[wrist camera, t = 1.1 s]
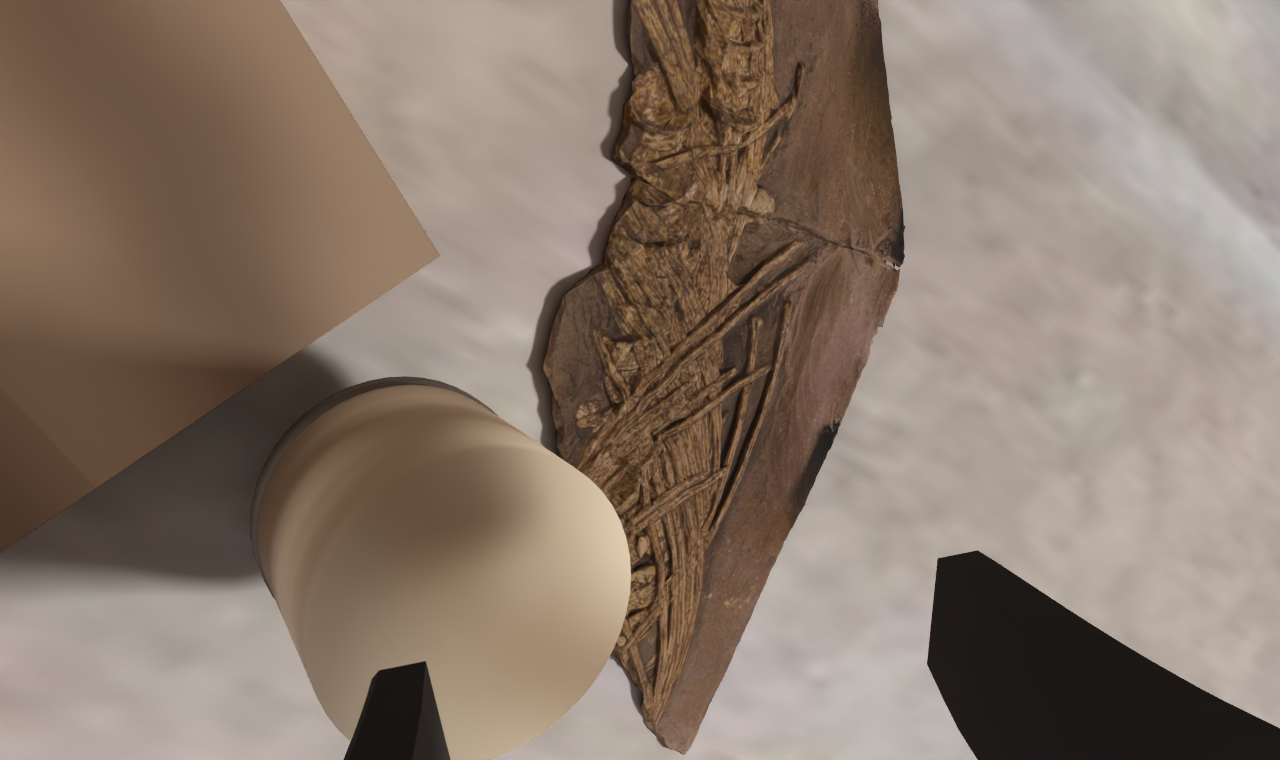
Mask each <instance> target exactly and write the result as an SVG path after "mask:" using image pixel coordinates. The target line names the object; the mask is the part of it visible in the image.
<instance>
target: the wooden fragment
mask: <svg viewBox="0 0 1280 760" xmlns="http://www.w3.org/2000/svg"><path fill="white" fill-rule="evenodd" d="M626 35H628V36H630V39H629V46H630V50H631V56H632V64H633V69H634V78H633V80H632V82H631V84H632V94H631V95H630V97H629V98H628V100H627V101H626V103H625V104H624V118H623V126H622V131H621V132H620V134H619V137H618V140H617V142H616V145H615V148H614V151H613V156H612V160H614V161H615V162H616V163H618V164H619V165H620V166H622V167H623V168H624V169H626V170H627V171H628V172H629V173H630V174H631V175H632V180H631V184H630V186H629V188H628V190H627V192H626V194H625V196H624V199H623V204H622V209H621V210H619V211H618V213H617V215H616V218H615V220H614V223H613V225H612V228H611V231H610V235H609V241H608V246H607V248H606V250H605V251H604V253H603V257H604V262H603V264H601V265H599V266H598V267H596V268H594V269H592V270H591V271H590V272H589V273H588V274H587V275H586V276H585V277H584V278H582V279H581V280H580V281H578V282H577V284H576V287H574V288H572V289H571V290H570V291H568V292H567V293H566V294H565V295H564V296H563V301H562V304H561V306H560V308H559V310H558V312H557V315H556V318H555V321H554V324H553V327H552V330H551V334H550V339H549V345H548V351H547V355H546V357H545V360H544V374H545V375H546V376H547V377H548V380H549V383H550V386H551V388H552V391H553V395H552V417H553V420H554V424H555V427H556V434H557V448H558V455H559V457H560V458H561V459H563V460H564V461H566V462H567V463H569V464H570V465H571V466H573V467H574V468H576V469H577V470H579V471H580V472H581V473H583V474H584V475H585V476H587V477H588V478H589V479H590V480H591V481H592V482H593V483H594V484H595V485H596V486H597V487H598V488H599V489H600V490H601V491H602V492H603V493H604V495H605V496H606V497H607V499H608V500H609V501H610V503H611V504H612V506H613V508H614V509H615V511H616V513H617V515H618V517H619V519H620V521H621V524H622V527H623V530H624V533H625V535H626V538H627V544H628V549H629V554H630V565H631V584H630V596H629V601H628V607H627V612H626V616H625V619H624V622H623V626H622V629H621V632H620V635H619V637H618V639H617V642H616V644H615V646H614V649H613V651H614V652H615V653H616V656H617V657H618V658H619V659H620V661H621V662H622V664H623V666H624V668H626V669H627V671H628V672H629V674H630V676H631V678H632V681H633V683H634V684H635V686H638V687H639V689H640V690H641V692H642V693H643V698H644V700H643V704H642V705H641V709H642V712H643V715H644V719H645V723H646V725H647V727H648V728H649V729H651V730H652V731H653V733H654V734H655V735H656V736H657V737H658V739H659V740H660V741H661V742H662V743H663V744H664V745H665V746H666V747H667V748H669V749H670V750H676V751H678V752H680V753H681V754H683V755H685V754H686V752H687V751H688V750H689V748H690V747H691V745H692V743H693V741H694V739H695V737H696V735H697V733H698V730H699V726H700V724H701V722H702V720H703V718H704V716H705V714H706V712H707V709H708V707H709V704H710V702H711V700H712V698H713V696H714V694H715V692H716V690H717V688H718V686H719V684H720V683H721V681H722V679H723V676H724V674H725V672H726V670H727V668H728V666H729V664H730V662H731V659H732V657H733V654H734V651H735V649H736V647H737V645H738V643H739V642H740V640H741V637H742V635H743V632H744V630H745V628H746V626H747V624H748V622H749V620H750V618H751V615H752V613H753V610H754V607H755V605H756V603H757V600H758V598H759V596H760V594H761V592H762V590H763V588H764V586H765V583H766V581H767V578H768V576H769V573H770V571H771V569H772V567H773V565H774V564H775V562H776V559H777V557H778V555H779V553H780V551H781V549H782V547H783V543H784V541H785V539H786V538H787V536H788V534H789V532H790V530H791V528H792V527H793V525H794V523H795V521H796V519H797V517H798V515H799V513H800V512H801V510H802V508H803V507H804V505H805V502H806V499H807V497H808V495H809V492H810V490H811V488H812V487H813V484H814V482H815V479H816V476H817V474H818V472H819V470H820V468H821V466H822V464H823V462H824V460H825V458H826V455H827V453H828V451H829V450H830V448H831V446H832V444H833V441H834V438H835V436H836V434H837V432H838V428H839V426H840V424H841V422H842V419H843V417H844V414H845V412H846V409H847V407H848V405H849V403H850V400H851V397H852V394H853V392H854V390H855V387H856V384H857V381H858V379H859V378H860V375H861V372H862V370H863V368H864V367H865V365H866V363H867V360H868V357H869V354H870V346H871V344H872V343H873V341H872V338H873V337H874V336H875V335H876V334H877V330H878V326H879V327H883V323H884V319H885V316H886V314H887V311H888V309H889V306H890V304H891V301H892V298H893V297H894V295H895V293H896V291H897V288H898V281H899V272H900V270H898V271H897V270H896V269H895V268H892V267H891V266H889V265H886V263H885V262H884V261H885V260H888V261H890V262H891V263H893V266H894V267H895V263H896V266H898V267H900V266H901V265H902V264H903V260H904V257H905V255H904V235H903V233H904V229H905V226H904V224H903V207H902V198H901V191H900V185H899V178H898V167H897V157H896V149H895V142H894V134H893V128H892V124H891V119H892V117H891V111H890V105H889V94H888V86H887V76H886V68H885V62H884V54H883V45H882V32H881V21H880V18H879V14H878V0H630V3H629V10H628V16H627V32H626Z"/></svg>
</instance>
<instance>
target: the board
mask: <svg viewBox="0 0 1280 760" xmlns="http://www.w3.org/2000/svg"><path fill="white" fill-rule="evenodd" d="M439 256H440V255H439V253H438V251H437V250H436V248H435V247H434V245H433V243H432V242H431V240H430V239H429V237H428V235H427V234H426V232H425V231H424V229H423V227H422V226H421V224H420V223H419V221H418V219H417V218H416V216H415V215H414V213H413V211H412V210H411V208H410V207H409V205H408V203H407V202H406V200H405V199H404V197H403V195H402V194H401V192H400V191H399V189H398V188H397V186H396V184H395V183H394V181H393V180H392V178H391V176H390V175H389V173H388V172H387V170H386V168H385V167H384V165H383V164H382V162H381V160H380V159H379V157H378V156H377V154H376V152H375V151H374V149H373V148H372V146H371V144H370V143H369V141H368V140H367V138H366V136H365V135H364V133H363V132H362V130H361V128H360V127H359V125H358V124H357V122H356V120H355V119H354V117H353V116H352V114H351V113H350V111H349V109H348V108H347V106H346V105H345V103H344V101H343V100H342V98H341V97H340V95H339V93H338V92H337V90H336V89H335V87H334V85H333V84H332V82H331V81H330V79H329V77H328V76H327V74H326V73H325V71H324V69H323V68H322V66H321V65H320V63H319V61H318V60H317V58H316V57H315V55H314V53H313V52H312V50H311V49H310V47H309V45H308V44H307V42H306V41H305V39H304V38H303V36H302V34H301V33H300V31H299V30H298V28H297V26H296V25H295V23H294V22H293V20H292V18H291V17H290V15H289V14H288V12H287V10H286V9H285V7H284V6H283V4H282V2H281V1H280V0H0V552H2V551H3V550H5V549H6V548H8V547H9V546H11V545H12V544H14V543H15V542H17V541H18V540H20V539H21V538H23V537H24V536H26V535H27V534H29V533H30V532H32V531H33V530H35V529H36V528H38V527H39V526H40V525H42V524H43V523H45V522H46V521H48V520H49V519H51V518H52V517H54V516H55V515H57V514H58V513H60V512H61V511H63V510H64V509H66V508H67V507H69V506H70V505H72V504H73V503H75V502H76V501H78V500H79V499H81V498H82V497H83V496H85V495H86V494H88V493H89V492H91V491H92V490H94V489H95V488H97V487H98V486H100V485H101V484H103V483H104V482H106V481H107V480H109V479H110V478H112V477H113V476H115V475H116V474H118V473H119V472H121V471H122V470H124V469H125V468H126V467H128V466H129V465H131V464H132V463H134V462H135V461H137V460H138V459H140V458H141V457H143V456H144V455H146V454H147V453H149V452H150V451H152V450H153V449H155V448H156V447H158V446H159V445H161V444H162V443H164V442H165V441H167V440H168V439H169V438H171V437H172V436H174V435H175V434H177V433H178V432H180V431H181V430H183V429H184V428H186V427H187V426H189V425H190V424H192V423H193V422H195V421H196V420H198V419H199V418H201V417H202V416H204V415H205V414H207V413H208V412H209V411H211V410H212V409H214V408H215V407H217V406H218V405H220V404H221V403H223V402H224V401H226V400H227V399H229V398H230V397H232V396H233V395H235V394H236V393H238V392H239V391H241V390H242V389H244V388H245V387H247V386H248V385H250V384H251V383H252V382H254V381H255V380H257V379H258V378H260V377H261V376H263V375H264V374H266V373H267V372H269V371H270V370H272V369H273V368H275V367H276V366H278V365H279V364H281V363H282V362H284V361H285V360H287V359H288V358H290V357H291V356H293V355H294V354H295V353H297V352H298V351H300V350H301V349H303V348H304V347H306V346H307V345H309V344H310V343H312V342H313V341H315V340H316V339H318V338H319V337H321V336H322V335H324V334H325V333H327V332H328V331H330V330H331V329H333V328H334V327H335V326H337V325H338V324H340V323H341V322H343V321H344V320H346V319H347V318H349V317H350V316H352V315H353V314H355V313H356V312H358V311H359V310H361V309H362V308H364V307H365V306H367V305H368V304H370V303H371V302H373V301H374V300H376V299H377V298H378V297H380V296H381V295H383V294H384V293H386V292H387V291H389V290H390V289H392V288H393V287H395V286H396V285H398V284H399V283H401V282H402V281H404V280H405V279H407V278H408V277H410V276H411V275H413V274H414V273H416V272H417V271H419V270H420V269H421V268H423V267H424V266H426V265H427V264H429V263H430V262H432V261H433V260H435V259H436V258H438V257H439Z"/></svg>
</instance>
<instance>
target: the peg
mask: <svg viewBox="0 0 1280 760" xmlns="http://www.w3.org/2000/svg"><path fill="white" fill-rule="evenodd" d="M250 526H251V540H252V546H253V551H254V555H255V558H256V561H257V564H258V567H259V570H260V572H261V575H262V577H263V579H264V581H265V583H266V585H267V587H268V589H269V591H270V592H271V594H272V596H273V597H274V599H275V600H276V602H277V605H278V607H279V609H280V612H281V614H282V616H283V619H284V621H285V623H286V626H287V628H288V630H289V633H290V635H291V637H292V640H293V642H294V644H295V647H296V649H297V651H298V654H299V656H300V658H301V661H302V663H303V665H304V668H305V670H306V672H307V675H308V677H309V679H310V682H311V684H312V687H313V689H314V691H315V694H316V696H317V698H318V700H319V702H320V704H321V705H322V707H323V709H324V711H325V713H326V715H327V716H328V717H329V718H330V720H331V721H332V722H333V724H334V725H335V726H336V727H337V729H338V730H339V731H340V732H341V733H342V734H343V735H345V736H346V737H347V738H348V739H349V740H350V741H351V740H352V737H353V734H354V732H355V729H356V726H357V724H358V721H359V718H360V715H361V712H362V709H363V706H364V703H365V700H366V697H367V694H368V690H369V687H370V683H371V680H372V678H373V677H374V676H375V674H376V673H377V672H378V671H379V670H383V669H388V668H393V667H398V666H403V665H408V664H413V663H418V662H423V661H426V664H427V668H428V672H429V676H430V680H431V684H432V688H433V692H434V696H435V700H436V704H437V708H438V712H439V716H440V720H441V724H442V728H443V732H444V736H445V740H446V744H447V748H448V752H449V756H450V760H490V759H492V758H495V757H497V756H500V755H502V754H505V753H507V752H510V751H512V750H513V749H515V748H517V747H519V746H521V745H523V744H525V743H527V742H529V741H530V740H532V739H533V738H535V737H536V736H538V735H539V734H541V733H542V732H544V731H545V730H547V729H548V728H549V727H550V726H552V725H553V724H554V723H555V722H557V721H558V720H559V719H560V718H561V717H563V716H564V715H565V714H566V713H567V712H568V711H569V710H570V709H571V708H572V707H573V706H574V705H575V704H576V703H577V702H578V701H579V700H580V698H581V697H582V696H583V695H584V694H585V692H586V691H587V690H588V689H589V688H590V686H591V685H592V684H593V682H594V681H595V679H596V678H597V676H598V675H599V673H600V672H601V671H602V669H603V667H604V666H605V664H606V662H607V660H608V658H609V656H610V655H611V653H612V651H613V649H614V646H615V644H616V642H617V639H618V637H619V635H620V632H621V629H622V626H623V622H624V619H625V616H626V612H627V607H628V601H629V596H630V584H631V565H630V554H629V549H628V544H627V538H626V535H625V533H624V530H623V527H622V524H621V521H620V519H619V517H618V515H617V513H616V511H615V509H614V508H613V506H612V504H611V503H610V501H609V500H608V499H607V497H606V496H605V495H604V493H603V492H602V491H601V490H600V489H599V488H598V487H597V486H596V485H595V484H594V483H593V482H592V481H591V480H590V479H589V478H588V477H587V476H585V475H584V474H583V473H581V472H580V471H579V470H577V469H576V468H574V467H573V466H571V465H570V464H569V463H567V462H566V461H564V460H563V459H561V458H560V457H558V456H557V455H555V454H554V453H552V452H551V451H549V450H548V449H546V448H545V447H543V446H542V445H540V444H539V443H537V442H536V441H534V440H533V439H531V438H530V437H528V436H527V435H525V434H524V433H522V432H521V431H519V430H518V429H516V428H515V427H513V426H512V425H510V424H509V423H507V422H506V421H504V420H503V419H501V418H500V417H499V416H498V415H497V414H496V413H494V412H493V411H492V410H491V409H490V408H489V407H487V406H486V405H484V404H483V403H482V402H480V401H479V400H477V399H476V398H474V397H473V396H471V395H470V394H468V393H466V392H464V391H462V390H460V389H458V388H457V387H454V386H451V385H448V384H446V383H443V382H440V381H435V380H431V379H426V378H418V377H389V378H382V379H377V380H371V381H367V382H364V383H361V384H358V385H355V386H351V387H349V388H347V389H345V390H342V391H340V392H338V393H336V394H334V395H332V396H330V397H328V398H327V399H325V400H324V401H322V402H320V403H319V404H317V405H316V406H314V407H313V408H312V409H311V410H309V411H308V412H307V413H305V414H304V415H303V416H302V417H300V418H299V419H298V420H297V421H296V423H295V424H294V425H293V426H292V427H291V428H290V429H289V430H288V431H287V432H286V433H285V434H284V436H283V437H282V438H281V439H280V441H279V442H278V443H277V445H276V446H275V447H274V449H273V451H272V452H271V454H270V456H269V458H268V459H267V461H266V463H265V465H264V467H263V469H262V472H261V474H260V477H259V479H258V481H257V485H256V489H255V492H254V496H253V500H252V508H251V517H250Z"/></svg>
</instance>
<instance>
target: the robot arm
mask: <svg viewBox="0 0 1280 760" xmlns="http://www.w3.org/2000/svg"><path fill="white" fill-rule="evenodd" d="M927 665H928V667H929V669H930V671H931V673H932V675H933V678H934V680H935V682H936V684H937V686H938V688H939V690H940V693H941V695H942V697H943V699H944V701H945V703H946V705H947V707H948V709H949V711H950V713H951V715H952V717H953V719H954V721H955V723H956V725H957V727H958V729H959V731H960V732H961V734H962V736H963V737H964V739H965V740H966V742H967V744H968V745H969V747H970V748H971V750H972V751H973V753H974V755H975V756H976V758H977V759H978V760H1280V728H1278V727H1276V726H1274V725H1272V724H1270V723H1268V722H1266V721H1264V720H1262V719H1259V718H1257V717H1255V716H1253V715H1251V714H1249V713H1247V712H1245V711H1243V710H1241V709H1239V708H1237V707H1235V706H1233V705H1231V704H1229V703H1227V702H1225V701H1223V700H1221V699H1219V698H1217V697H1215V696H1213V695H1211V694H1210V693H1208V692H1206V691H1204V690H1202V689H1200V688H1198V687H1196V686H1195V685H1193V684H1191V683H1189V682H1188V681H1186V680H1184V679H1182V678H1180V677H1179V676H1177V675H1175V674H1173V673H1172V672H1170V671H1168V670H1166V669H1165V668H1163V667H1161V666H1159V665H1157V664H1156V663H1154V662H1152V661H1150V660H1149V659H1147V658H1145V657H1144V656H1142V655H1140V654H1139V653H1137V652H1135V651H1134V650H1132V649H1130V648H1129V647H1127V646H1125V645H1124V644H1122V643H1120V642H1119V641H1117V640H1116V639H1114V638H1112V637H1111V636H1109V635H1107V634H1106V633H1104V632H1103V631H1101V630H1099V629H1098V628H1096V627H1095V626H1093V625H1092V624H1090V623H1088V622H1087V621H1085V620H1084V619H1082V618H1081V617H1079V616H1077V615H1076V614H1074V613H1073V612H1071V611H1070V610H1068V609H1067V608H1065V607H1064V606H1062V605H1061V604H1059V603H1057V602H1056V601H1054V600H1053V599H1051V598H1050V597H1048V596H1047V595H1045V594H1044V593H1042V592H1041V591H1039V590H1038V589H1036V588H1035V587H1033V586H1032V585H1030V584H1029V583H1027V582H1026V581H1024V580H1023V579H1021V578H1020V577H1018V576H1017V575H1015V574H1014V573H1012V572H1011V571H1009V570H1007V569H1006V568H1004V567H1003V566H1001V565H1000V564H998V563H997V562H995V561H994V560H992V559H990V558H989V557H987V556H986V555H984V554H982V553H981V552H979V551H973V552H968V553H963V554H958V555H953V556H948V557H943V558H938V561H937V571H936V581H935V591H934V601H933V611H932V621H931V631H930V641H929V651H928V661H927ZM344 760H450V756H449V752H448V748H447V744H446V740H445V736H444V732H443V728H442V724H441V720H440V716H439V712H438V708H437V704H436V700H435V696H434V692H433V688H432V684H431V680H430V676H429V672H428V668H427V664H426V661H423V662H418V663H413V664H408V665H403V666H398V667H393V668H388V669H383V670H379V671H378V672H377V673H376V674H375V676H374V677H373V678H372V680H371V683H370V687H369V690H368V694H367V697H366V700H365V703H364V706H363V709H362V712H361V715H360V718H359V721H358V724H357V726H356V729H355V732H354V734H353V737H352V740H351V742H350V745H349V747H348V750H347V752H346V755H345V758H344Z"/></svg>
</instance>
